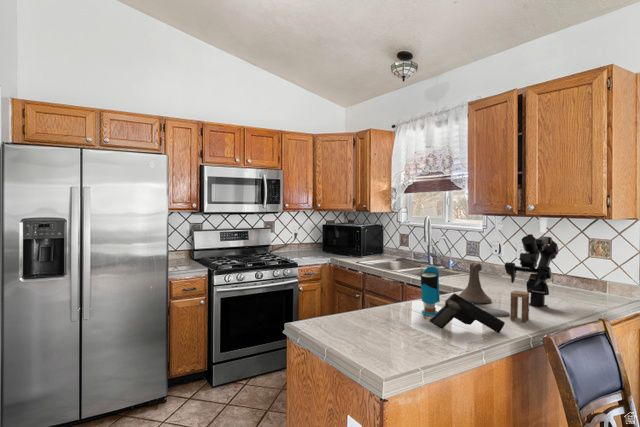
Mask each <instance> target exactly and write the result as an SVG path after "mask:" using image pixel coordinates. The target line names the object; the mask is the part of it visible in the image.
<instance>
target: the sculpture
mask: <svg viewBox="0 0 640 427" xmlns="http://www.w3.org/2000/svg"><path fill="white" fill-rule="evenodd" d="M482 270H483V268H482V264H481V263H478V262H475V261H474V262H471V264H470V266H469V278H468V283H467V286H466V287H465V288H464V289H463V290H462V291H461V292H460V294H457V295H458V296H460V297H462V298H464V299H465V300H467V301H469V302H470V303H472V304H474V305H481V304H482V305H483V304H489V303H491V302H492V298H491V297H489V295H487V293H486V292H485V291H484V290H483V288H482V284H481V281H480V276H479V272H480V271H482Z"/></svg>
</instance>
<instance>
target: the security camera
mask: <svg viewBox="0 0 640 427" xmlns="http://www.w3.org/2000/svg"><path fill="white" fill-rule="evenodd" d="M439 272H440V271H439V268H438V267H435V266H427V267H426V268H425V270H424V271H423V272H422V273H421V274H420V289H421V292H420V293H421V301H422V303H425V306H424V309H422V310H421V314H423V315H427V316H434V315H435V314H436V313H437V312H438V311H439V310H438V311H437V308H436V304H437V303H440V300H441V297H440V280H439V279H440V274H439Z"/></svg>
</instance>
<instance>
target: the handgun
mask: <svg viewBox="0 0 640 427" xmlns="http://www.w3.org/2000/svg"><path fill="white" fill-rule="evenodd" d="M458 295H459V294H457V293H453V294H451V295H450V296H449V297H448V298H447V299H446V300H445V302H444V303H445V305H444V306H442V307H441V309H439V310H438V312H437V313H436V314H435V315H432V317H430V318H429V320H428V321H429V323H431V324H433V325H434V326H436V327H437V328H439V329H441V330H442V329H444V328H445V327H446V326H447V325H448V324H450V322H451V321H453V319H456V320H458V321H460V322H461V323H462V324H464V325H472V324H473V323H474V322H475V321H476V322H479V323H481V325H484V326H485V327H487V328H489V329H490V330H492V331H494V332H496V333H497V334H499V333H501V331H502V329H503V328H504V326H505V324H506V323H505V321H503V320H502V319H500V318H499V317H496V316H493V315H491V314H490V313H488V312H486V311H484V310H485V309H482V308H480V307H479V306H477V304H473V303H470V302H469V301H467V300H465V299H464V298H462V297H460V296H458Z"/></svg>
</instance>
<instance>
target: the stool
mask: <svg viewBox="0 0 640 427" xmlns="http://www.w3.org/2000/svg"><path fill="white" fill-rule="evenodd" d="M519 298H521V323H527V321H529V318H530V316H529V315H530V314H529V312H530V310H529V308H530V305H529V303H530V293H529V292H527V291H523V290H522V291H521V290H515V289H514V290H513V291H511V292H510V311H509V313H510V315H509V317H510V318H509V319H510V320H511V321H515V320H516V319H518V317H519V316H518V315H519V314H518V313H519V310H518V308H519Z"/></svg>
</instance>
